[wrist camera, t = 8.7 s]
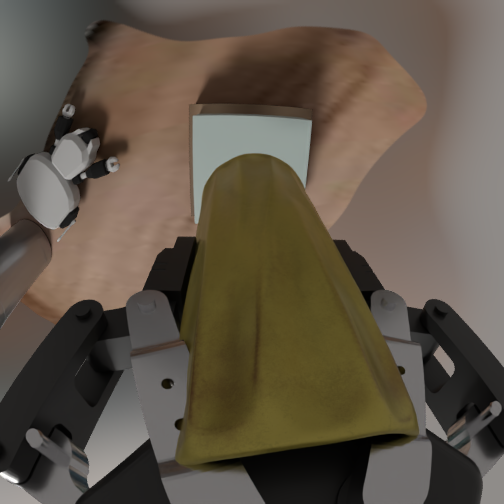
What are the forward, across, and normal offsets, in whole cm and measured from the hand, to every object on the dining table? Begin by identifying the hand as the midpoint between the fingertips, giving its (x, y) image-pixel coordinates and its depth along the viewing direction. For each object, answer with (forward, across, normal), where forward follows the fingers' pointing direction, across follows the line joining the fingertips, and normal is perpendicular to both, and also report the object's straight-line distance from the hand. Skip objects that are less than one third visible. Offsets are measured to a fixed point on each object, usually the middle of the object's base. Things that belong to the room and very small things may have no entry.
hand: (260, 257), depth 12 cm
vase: (+6, 0, 0) cm, 6 cm away
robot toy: (+22, +24, 0) cm, 32 cm away
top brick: (+18, 0, 0) cm, 18 cm away
